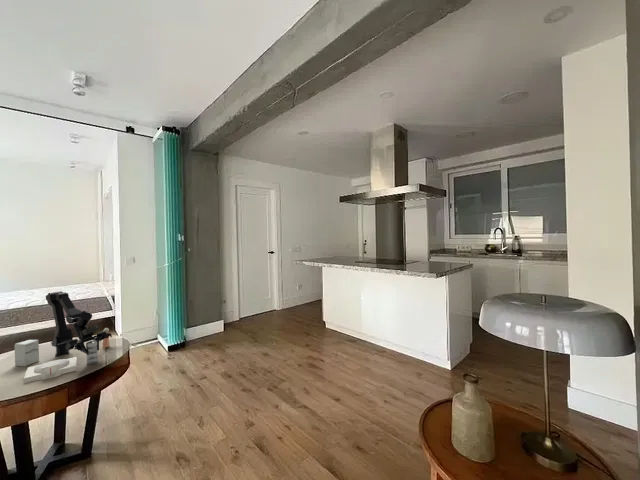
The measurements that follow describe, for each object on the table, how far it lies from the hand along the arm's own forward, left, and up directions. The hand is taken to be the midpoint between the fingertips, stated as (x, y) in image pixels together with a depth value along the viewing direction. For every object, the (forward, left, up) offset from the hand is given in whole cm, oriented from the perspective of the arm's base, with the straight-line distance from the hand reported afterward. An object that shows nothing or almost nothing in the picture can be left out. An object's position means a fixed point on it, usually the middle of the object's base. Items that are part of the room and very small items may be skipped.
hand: (93, 351), depth 164 cm
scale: (-3, -18, -7) cm, 19 cm away
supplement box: (-27, -30, -7) cm, 41 cm away
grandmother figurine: (-25, +7, -7) cm, 27 cm away
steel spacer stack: (-1, -1, -7) cm, 7 cm away
